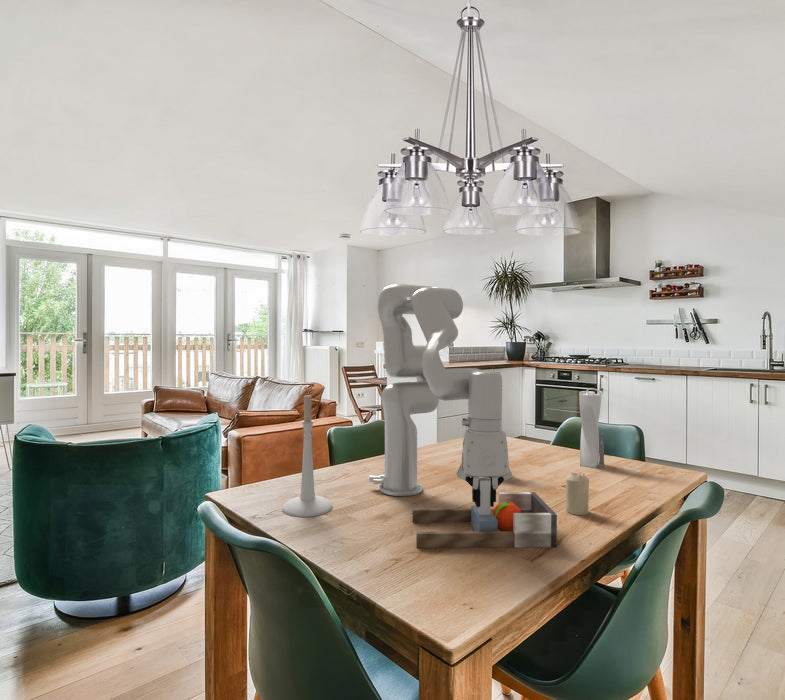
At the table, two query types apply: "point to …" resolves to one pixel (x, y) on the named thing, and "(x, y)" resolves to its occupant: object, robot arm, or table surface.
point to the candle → (577, 494)
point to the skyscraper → (590, 430)
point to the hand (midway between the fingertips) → (484, 504)
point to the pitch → (528, 531)
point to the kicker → (483, 509)
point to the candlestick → (307, 476)
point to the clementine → (505, 515)
